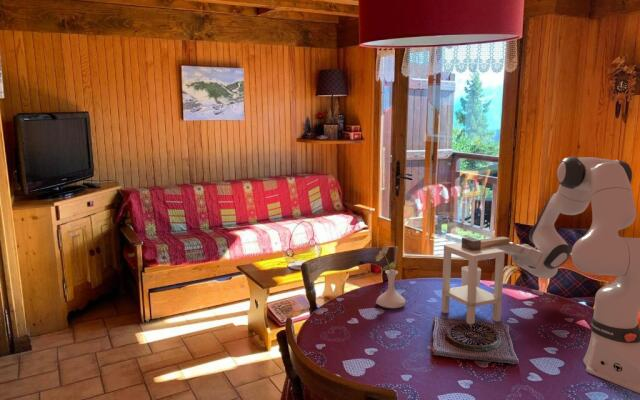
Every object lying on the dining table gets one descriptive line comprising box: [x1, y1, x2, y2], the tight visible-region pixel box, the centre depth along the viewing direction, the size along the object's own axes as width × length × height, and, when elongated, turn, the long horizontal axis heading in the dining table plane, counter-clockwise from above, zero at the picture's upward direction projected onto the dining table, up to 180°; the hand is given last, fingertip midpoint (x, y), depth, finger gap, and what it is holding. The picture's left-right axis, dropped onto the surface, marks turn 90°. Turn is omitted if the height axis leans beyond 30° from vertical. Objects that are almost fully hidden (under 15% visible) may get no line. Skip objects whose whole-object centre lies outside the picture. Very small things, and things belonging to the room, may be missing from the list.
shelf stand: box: [441, 242, 506, 324], centre depth 182 cm, size 16×14×26 cm
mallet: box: [461, 236, 511, 251], centre depth 182 cm, size 6×18×4 cm, turn 114°
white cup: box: [461, 265, 482, 288], centre depth 209 cm, size 8×8×10 cm
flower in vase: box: [375, 244, 407, 309], centre depth 192 cm, size 13×11×25 cm
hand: (501, 241), depth 185 cm, fingers open, 8 cm apart
